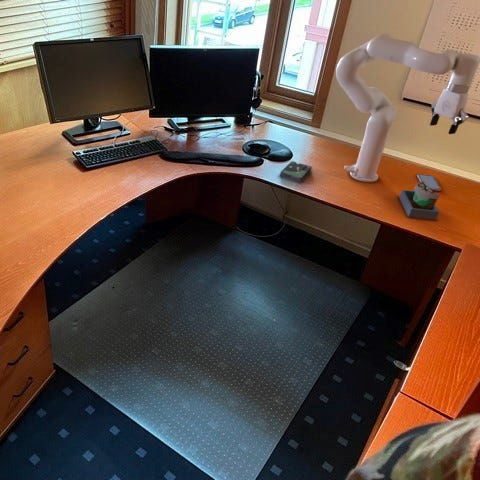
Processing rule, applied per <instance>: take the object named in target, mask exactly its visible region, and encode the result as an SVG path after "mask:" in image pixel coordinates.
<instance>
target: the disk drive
mask: <svg viewBox="0 0 480 480" xmlns="http://www.w3.org/2000/svg"><path fill="white" fill-rule="evenodd" d="M312 168H313V166H311V165H308V164H303V163H297V162H296V161H294V160H291V161H290V162H289V163H288V164H287V165H286V166H285V167H284V168H283V169H282V170H281V171H280V173H279V177H280V178H284V179H286V180H289V181H293V182H297V183H301V182H302V181H304V179H306V178H307V176H308V175H309V174H310V173H311V171H312Z"/></svg>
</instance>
